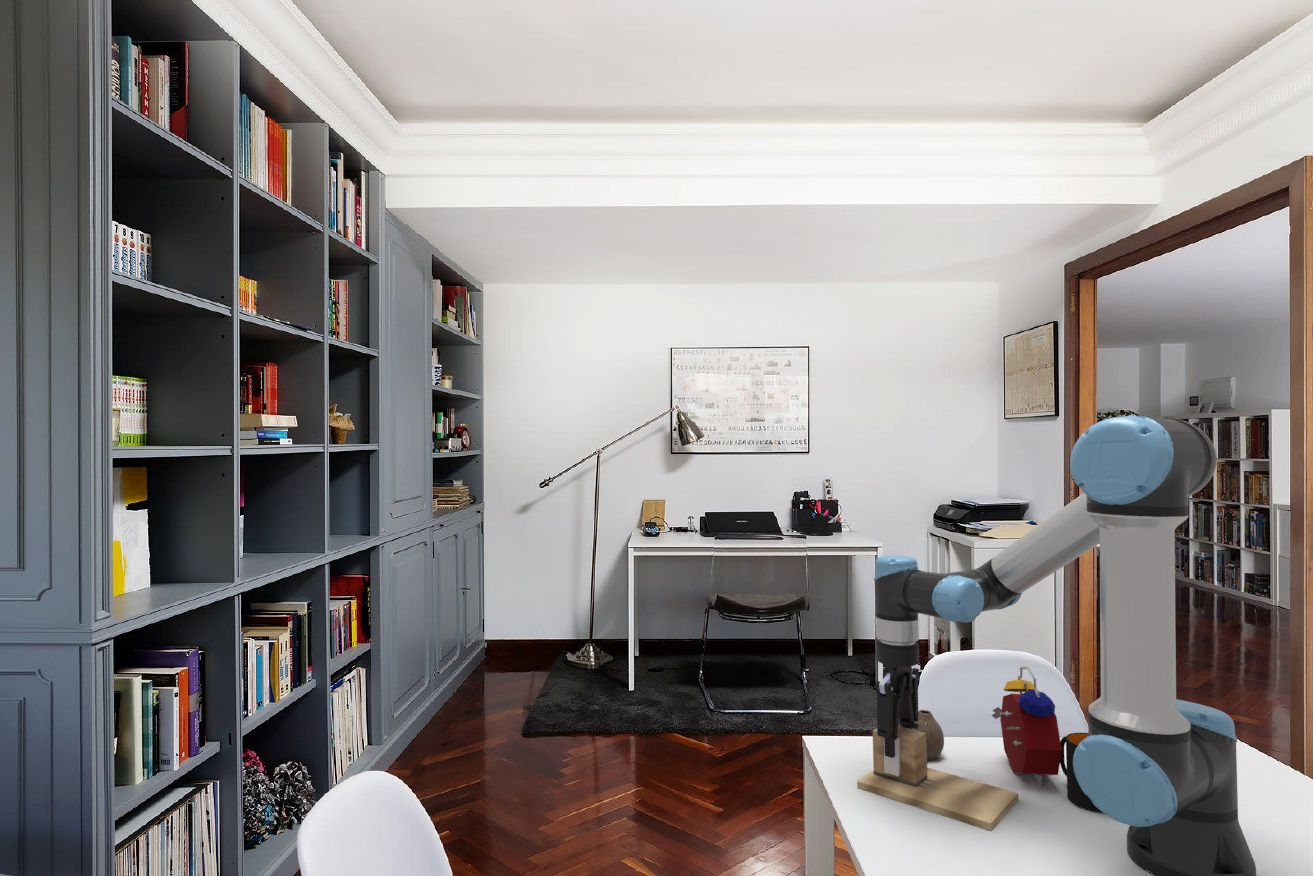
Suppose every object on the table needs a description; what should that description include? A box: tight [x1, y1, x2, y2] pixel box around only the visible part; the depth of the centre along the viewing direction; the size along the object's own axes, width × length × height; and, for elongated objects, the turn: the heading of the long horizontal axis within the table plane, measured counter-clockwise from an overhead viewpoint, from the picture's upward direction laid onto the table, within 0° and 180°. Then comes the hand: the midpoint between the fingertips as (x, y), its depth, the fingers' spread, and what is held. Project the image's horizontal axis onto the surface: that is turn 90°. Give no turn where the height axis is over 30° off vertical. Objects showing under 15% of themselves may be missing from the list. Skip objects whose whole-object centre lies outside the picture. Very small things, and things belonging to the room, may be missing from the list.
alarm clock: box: [991, 666, 1062, 787], centre depth 136 cm, size 15×9×20 cm, turn 171°
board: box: [856, 767, 1019, 832], centre depth 128 cm, size 23×14×1 cm, turn 47°
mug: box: [1059, 732, 1106, 815], centre depth 126 cm, size 8×12×10 cm
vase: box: [912, 709, 945, 761], centre depth 144 cm, size 7×7×9 cm
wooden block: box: [872, 725, 928, 787], centre depth 133 cm, size 8×5×8 cm, turn 47°
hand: (899, 768), depth 133 cm, fingers closed on wooden block, 5 cm apart
